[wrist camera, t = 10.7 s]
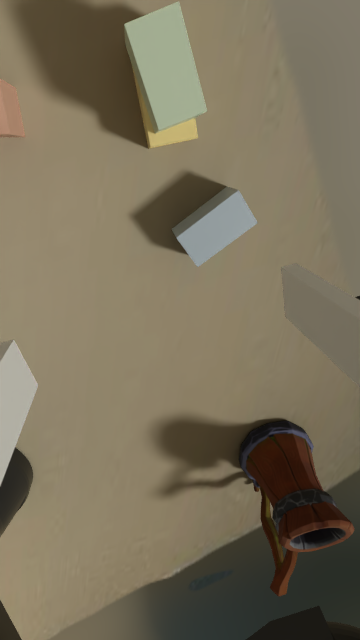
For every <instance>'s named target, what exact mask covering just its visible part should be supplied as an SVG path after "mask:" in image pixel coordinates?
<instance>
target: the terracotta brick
mask: <svg viewBox="0 0 360 640" xmlns="http://www.w3.org/2000/svg"><path fill="white" fill-rule="evenodd" d="M0 137H25V132H24V127H23V122H22V117H21V112H20V107H19V102H18V97H17V92H16V88H15V87H14V86H12V85H10V84H8V83H7V82H5V81H3V80H2V79H0Z"/></svg>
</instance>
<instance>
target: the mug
mask: <svg viewBox="0 0 360 640" xmlns="http://www.w3.org/2000/svg"><path fill="white" fill-rule="evenodd" d="M312 450H313V444H312V442H311V440H310V439H309V437H308V435H307V434H306V432H305V431H304V429H302V428H301V427H299V426H297V425H295V424H293V423H291V422H289V421H282V422H275V423H268V424H266V425H264V426H262V427H260V428H258V429H256V430H253V431H251V432H250V434H249V435H248V437H247V438H246V439H245V441H244V442H243V443H242V445H241V449H240V455H239V463H240V466H241V468H242V469H243V470H244V472H245V473H246V474H247V475H248V477H249V478H250V479H253V483H254V490H255V491H256V492H258V491H259V489H260V490H261V495H262V502H261V522H262V526H263V530H264V532H265V534H266V536H267V539H268V540H269V543H270V546H271V549H272V553H273V557H274V561H275V566H276V570H275V576H274V579H273V581H272V584H271V586H270V588H271V590H272V591H273V592H274V593H275V594H277V596H281V595H285V594H286V592H287V585H288V581H289V578H290V576H291V574H292V572H293V570H294V567H295V564H296V560H297V553H298V552H308V551H315V550H318V549H322V548H325V547H329V546H332V545H335V544H337V543H340V542H342V541H344V539H347V538H348V537H350V535H352V533H353V532H354V527H353V525H352V523H351V522H350V521H349V520H348V519H347V518H346V517H345V516H344V515H343V514H342V513H341V512H340V511H339V510H338V509H337V505H336V503H335V501H334V500H333V498H332V497H331V496H330V495H329V494H328V493H326V492H325V491H323V489H322V487H321V484H320V482H319V480H318V478H317V476H316V472H315V468H314V463H313V457H312ZM270 502H271V505H272V507H273V519H274V520H275V522H276V526H275V525H274V523H273V520H272V518H271V514H270ZM277 531H278V532H279V535H278V533H277ZM281 545H282V546H284V547H285V548H286V549H287V552H286V555H285V558H284V557H283V551H282V546H281Z"/></svg>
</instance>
